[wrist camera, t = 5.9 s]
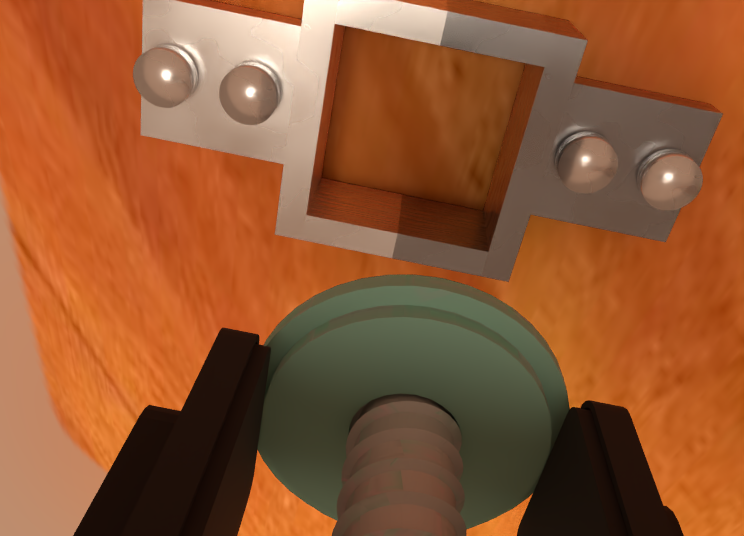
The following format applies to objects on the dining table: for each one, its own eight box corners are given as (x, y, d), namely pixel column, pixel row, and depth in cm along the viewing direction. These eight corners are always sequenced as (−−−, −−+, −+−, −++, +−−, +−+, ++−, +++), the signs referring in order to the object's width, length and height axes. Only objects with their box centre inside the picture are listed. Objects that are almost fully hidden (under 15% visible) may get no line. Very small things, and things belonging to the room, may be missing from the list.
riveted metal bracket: (732, 54, 24) (775, 79, 21) (640, 266, 28) (665, 313, 25) (157, -66, 23) (114, -58, 20) (151, 167, 27) (115, 202, 24)
